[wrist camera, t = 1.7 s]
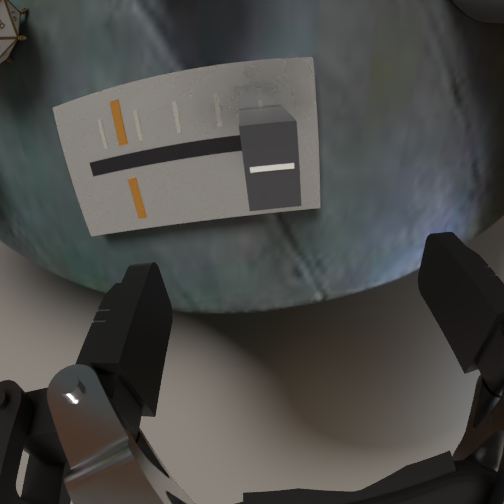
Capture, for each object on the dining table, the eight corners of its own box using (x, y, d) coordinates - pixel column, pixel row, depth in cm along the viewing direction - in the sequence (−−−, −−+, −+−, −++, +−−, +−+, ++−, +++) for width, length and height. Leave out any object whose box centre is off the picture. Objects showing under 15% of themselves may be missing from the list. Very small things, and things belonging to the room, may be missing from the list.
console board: (307, 57, 21) (313, 57, 19) (315, 197, 27) (320, 208, 25) (64, 103, 21) (52, 108, 19) (98, 225, 28) (91, 236, 26)
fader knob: (282, 106, 21) (296, 120, 16) (287, 171, 23) (301, 206, 18) (239, 110, 21) (238, 126, 16) (247, 175, 23) (249, 211, 18)
